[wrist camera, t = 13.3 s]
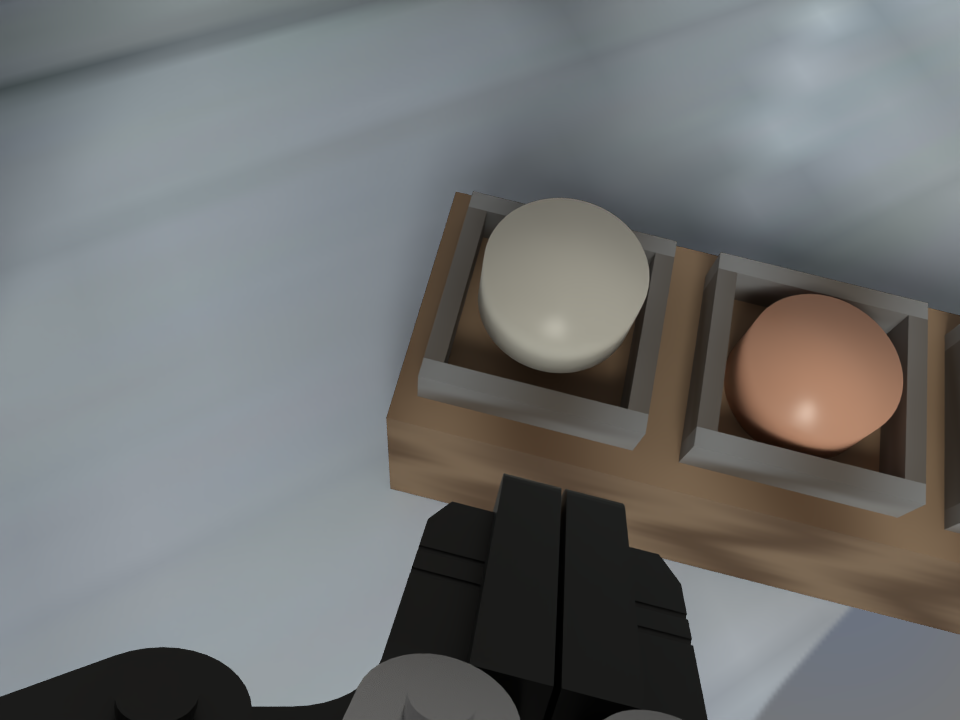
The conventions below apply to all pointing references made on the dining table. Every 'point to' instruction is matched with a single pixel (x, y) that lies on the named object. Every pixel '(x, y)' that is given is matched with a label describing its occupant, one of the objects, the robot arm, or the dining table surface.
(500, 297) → the cream egg
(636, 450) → the wooden egg crate
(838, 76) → the dining table surface
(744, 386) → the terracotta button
